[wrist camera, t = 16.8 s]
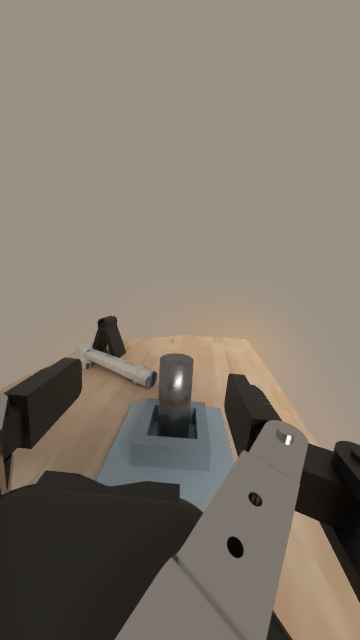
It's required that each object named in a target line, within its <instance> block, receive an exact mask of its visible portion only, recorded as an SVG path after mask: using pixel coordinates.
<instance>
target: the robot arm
mask: <svg viewBox="0 0 360 640" xmlns="http://www.w3.org/2000/svg"><path fill="white" fill-rule="evenodd" d="M81 389H82V363H81V360H80V359H75V358H63V359H61V360H60V361H58V362H57V363H55V364H54V365H52V366H50V367H47V368H45V369H42V370H40V371H39V372H37V373H35V374H34V375H33V376H31V377H29V378H27V379H26V380H24V381H23V382H21V383H19V384H18V385H16V386H15V387H13V388H11V389H10V390H8V391H7V392H5V393H4V394H1V393H0V640H293V639H292V638H291V636H290V635H289V633H288V632H287V631H286V629H285V628H284V626H283V625H282V623H281V622H280V620H279V619H278V617H277V616H276V614H275V613H274V611H273V606H274V602H275V597H276V592H277V588H278V583H279V579H280V574H281V569H282V565H283V560H284V556H285V551H286V547H287V542H288V537H289V533H290V528H291V524H292V519H293V514H294V510H295V511H297V512H299V513H301V514H304V515H306V516H308V517H311V518H313V519H315V520H318V521H319V522H320V524H321V526H322V528H323V530H324V532H325V534H326V536H327V538H328V540H329V542H330V544H331V546H332V548H333V550H334V552H335V554H336V556H337V558H338V560H339V562H340V564H341V566H342V568H343V570H344V572H345V574H346V576H347V578H348V580H349V582H350V584H351V586H352V588H353V590H354V592H355V594H356V596H357V598H358V600H359V602H360V445H358V444H355V443H352V442H348V441H339V442H337V443H336V445H335V448H334V451H330V450H327V449H324V448H321V447H318V446H315V445H312V444H309V443H308V440H307V438H306V437H305V435H304V434H303V433H302V432H301V431H300V430H298V429H297V428H296V427H294V426H292V425H290V424H288V423H286V422H283V421H282V420H281V419H280V417H279V416H278V414H277V413H276V411H275V410H274V408H273V407H272V405H270V402H269V401H268V399H266V396H265V395H264V393H263V392H262V391H261V390H260V389H259V388H257V387H256V386H255V385H250V384H249V382H248V380H247V379H246V377H245V375H240V374H229V376H228V382H227V389H226V395H225V414H226V417H227V420H228V424H229V427H230V431H231V434H232V438H233V441H234V444H235V448H236V451H237V455H238V459H237V460H236V462H235V464H234V465H233V467H232V468H231V470H230V472H229V473H228V475H227V476H226V478H225V479H224V481H223V483H222V484H221V486H220V487H219V489H218V491H217V492H216V494H215V495H214V497H213V499H212V500H211V502H210V503H209V505H208V507H207V508H206V510H205V511H204V513H203V512H202V511H201V510H200V509H199V508H197V507H196V506H195V505H193V504H192V503H190V502H188V501H186V500H184V499H182V498H180V484H173V483H163V482H153V481H143V482H136V483H130V484H123V485H117V486H106V485H104V484H101V483H99V482H97V481H94V480H92V479H90V478H87V477H85V476H82V475H80V474H75V473H65V472H56V471H45V472H44V474H43V475H42V476H41V478H40V479H39V480H38V482H37V483H36V484H32V485H28V486H24V487H21V488H18V489H15V490H12V491H10V490H11V481H12V471H13V461H14V456H13V452H14V451H15V450H16V449H17V448H27V449H32V448H33V446H34V445H35V444H36V443H37V442H38V441H39V440H40V439H41V438H42V437H43V435H44V434H45V433H46V432H47V431H48V430H49V429H50V428H51V427H52V426H53V425H54V423H55V422H56V421H57V420H58V419H59V418H60V417H61V416H62V415H63V414H64V412H65V411H66V410H67V409H68V408H69V407H70V406H71V405H72V404H73V403H74V401H75V400H76V399H77V398H78V397H79V395H80V393H81Z"/></svg>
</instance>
